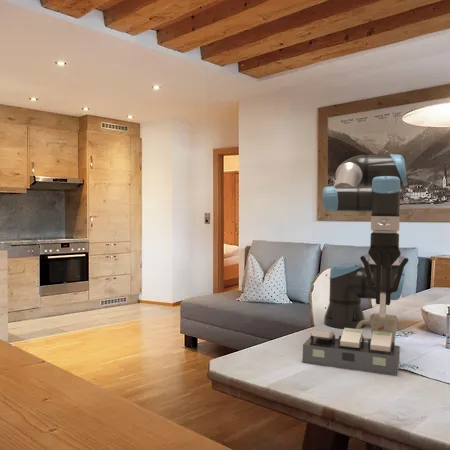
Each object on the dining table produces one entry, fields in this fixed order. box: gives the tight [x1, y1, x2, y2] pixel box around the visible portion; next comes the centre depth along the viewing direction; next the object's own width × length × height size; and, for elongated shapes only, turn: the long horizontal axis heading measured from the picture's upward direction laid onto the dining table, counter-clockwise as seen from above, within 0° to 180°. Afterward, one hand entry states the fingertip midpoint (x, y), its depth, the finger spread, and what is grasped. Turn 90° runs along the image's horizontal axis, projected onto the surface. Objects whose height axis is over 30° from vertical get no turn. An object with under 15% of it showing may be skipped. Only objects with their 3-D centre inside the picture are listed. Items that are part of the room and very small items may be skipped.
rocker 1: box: [310, 329, 335, 338], centre depth 133 cm, size 8×5×2 cm, turn 157°
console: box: [302, 334, 401, 377], centre depth 130 cm, size 11×25×7 cm, turn 67°
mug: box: [356, 312, 399, 345], centre depth 147 cm, size 8×13×10 cm, turn 78°
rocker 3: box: [370, 331, 392, 352], centre depth 127 cm, size 8×5×2 cm, turn 157°
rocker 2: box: [340, 328, 363, 348], centre depth 130 cm, size 8×5×2 cm, turn 157°
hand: (382, 316), depth 130 cm, fingers closed
